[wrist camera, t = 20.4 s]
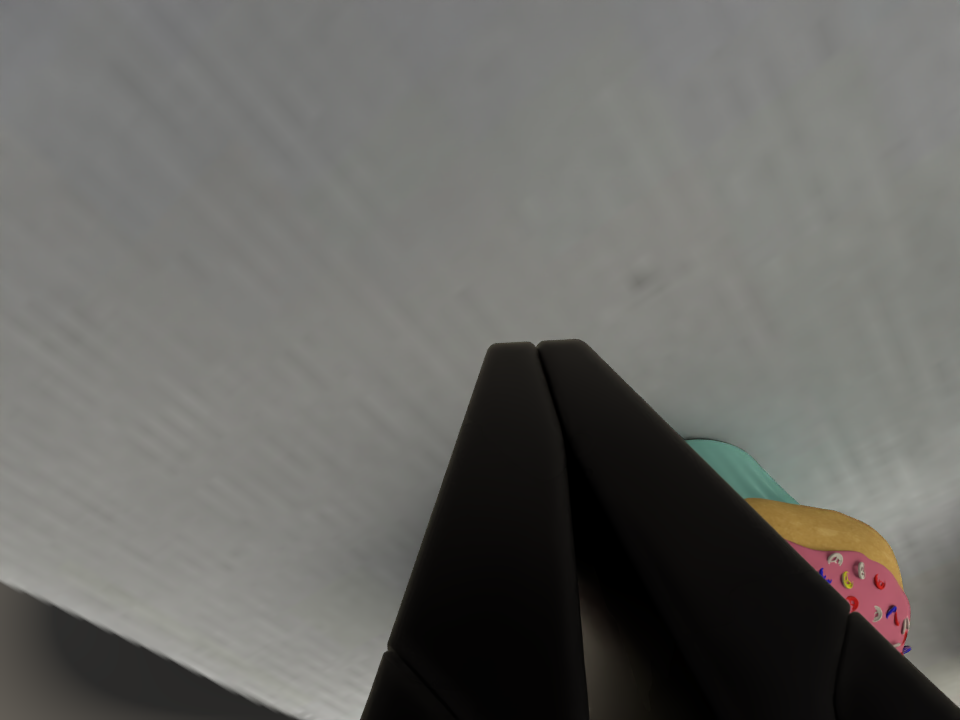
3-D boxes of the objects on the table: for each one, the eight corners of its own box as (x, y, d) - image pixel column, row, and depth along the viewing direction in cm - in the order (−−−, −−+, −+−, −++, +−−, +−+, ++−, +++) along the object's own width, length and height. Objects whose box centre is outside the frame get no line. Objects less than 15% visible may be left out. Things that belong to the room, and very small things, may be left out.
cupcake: (523, 592, 27) (605, 1084, 19) (532, 395, 22) (656, 966, 13) (792, 566, 28) (995, 1030, 19) (869, 368, 22) (1209, 895, 13)
